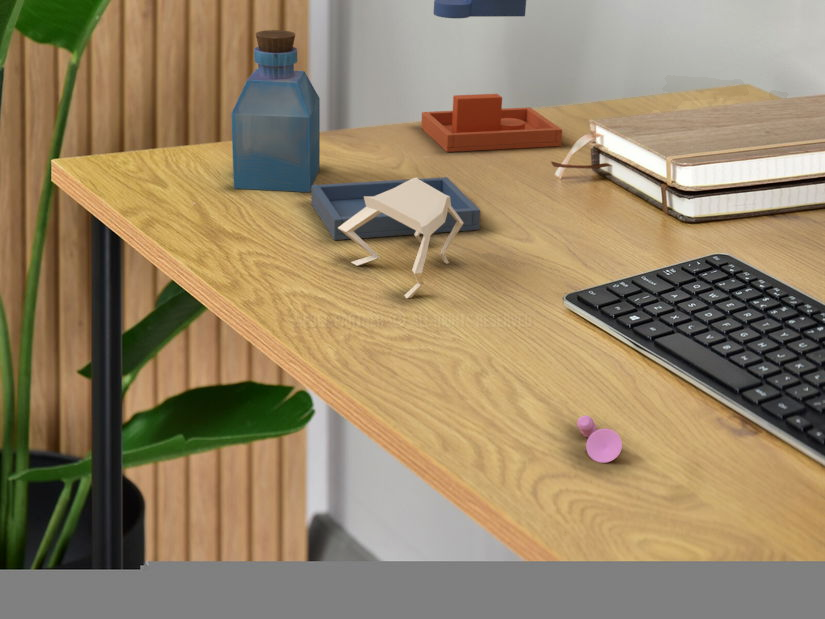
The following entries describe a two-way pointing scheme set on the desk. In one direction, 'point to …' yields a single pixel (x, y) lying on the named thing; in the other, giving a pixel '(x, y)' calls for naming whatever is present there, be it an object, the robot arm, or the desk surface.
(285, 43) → the perfume bottle
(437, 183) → the blue tray
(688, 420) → the desk surface
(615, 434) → the pink game pawn
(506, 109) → the terracotta tray
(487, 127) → the red brick block
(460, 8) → the blue block with disc
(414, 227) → the origami figure
